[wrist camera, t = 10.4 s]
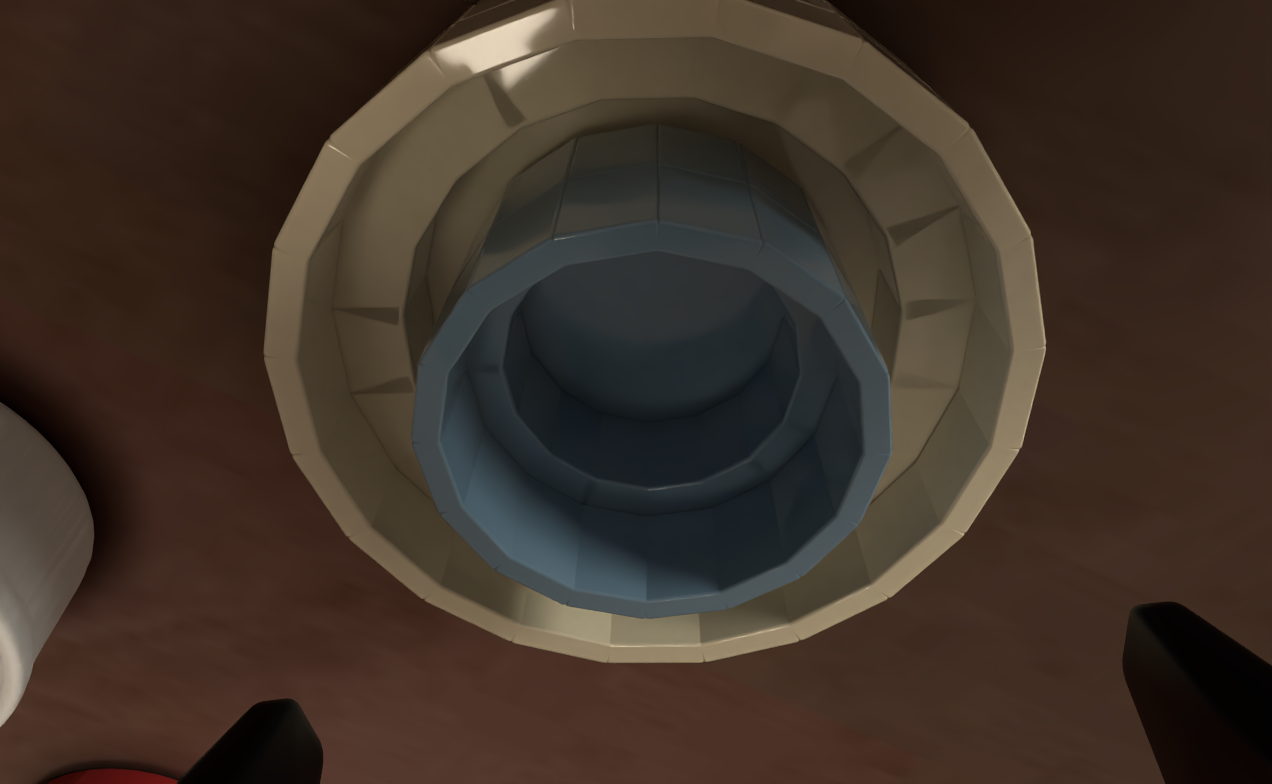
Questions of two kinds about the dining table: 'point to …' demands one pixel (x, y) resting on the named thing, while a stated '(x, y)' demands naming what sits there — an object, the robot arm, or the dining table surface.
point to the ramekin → (35, 549)
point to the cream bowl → (698, 101)
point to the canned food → (113, 777)
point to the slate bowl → (652, 380)
